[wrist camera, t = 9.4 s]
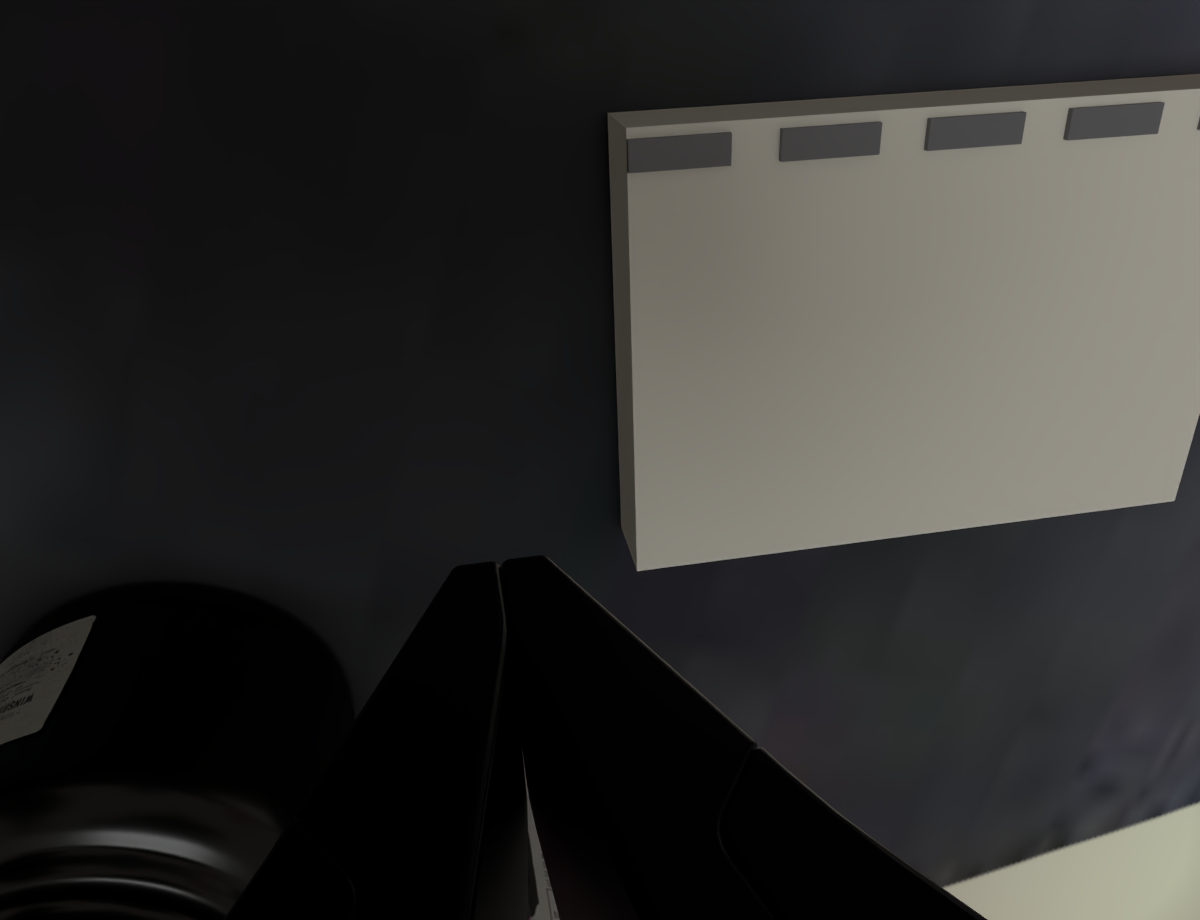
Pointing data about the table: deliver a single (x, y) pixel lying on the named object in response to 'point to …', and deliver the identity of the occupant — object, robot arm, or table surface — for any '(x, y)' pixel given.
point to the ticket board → (902, 312)
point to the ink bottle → (156, 754)
